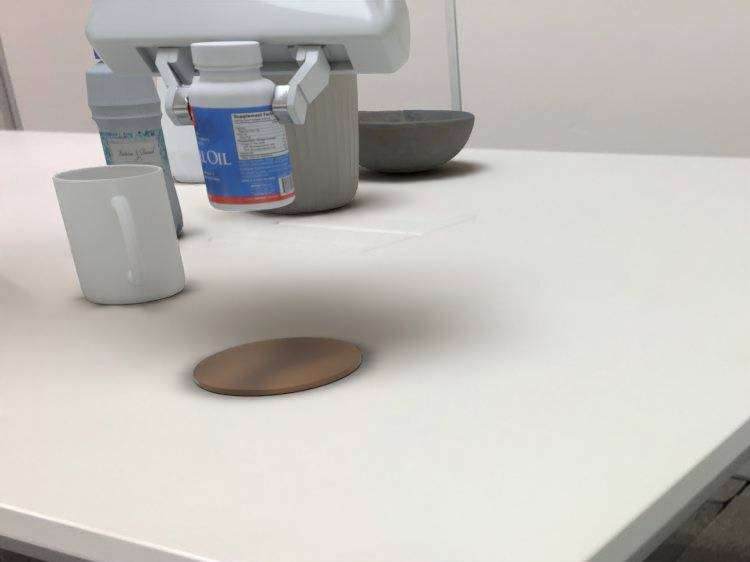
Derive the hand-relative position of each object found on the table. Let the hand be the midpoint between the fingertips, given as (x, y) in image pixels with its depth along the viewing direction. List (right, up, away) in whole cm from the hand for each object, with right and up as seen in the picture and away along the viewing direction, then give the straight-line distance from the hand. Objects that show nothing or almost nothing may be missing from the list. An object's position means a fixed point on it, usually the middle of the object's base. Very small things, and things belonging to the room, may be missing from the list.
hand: (235, 119), depth 63 cm
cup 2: (-36, +20, +81) cm, 91 cm away
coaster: (+1, -15, +6) cm, 16 cm away
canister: (-16, +10, +60) cm, 63 cm away
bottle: (-27, +3, +45) cm, 52 cm away
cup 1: (-18, -7, +23) cm, 30 cm away
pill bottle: (0, -5, +3) cm, 6 cm away
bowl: (-9, +22, +83) cm, 86 cm away
